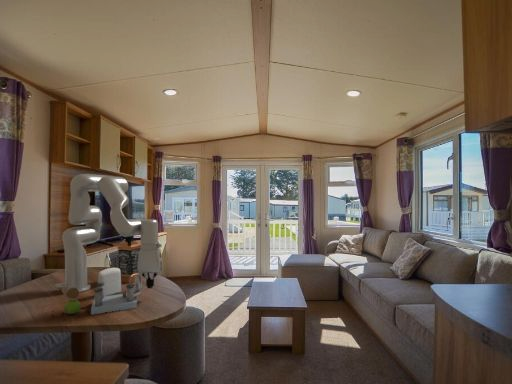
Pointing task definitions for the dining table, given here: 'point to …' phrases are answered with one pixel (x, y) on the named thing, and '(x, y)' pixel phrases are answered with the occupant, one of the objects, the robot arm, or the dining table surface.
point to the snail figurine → (71, 300)
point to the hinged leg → (138, 284)
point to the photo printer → (110, 280)
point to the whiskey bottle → (128, 259)
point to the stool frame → (113, 300)
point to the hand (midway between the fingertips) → (150, 287)
